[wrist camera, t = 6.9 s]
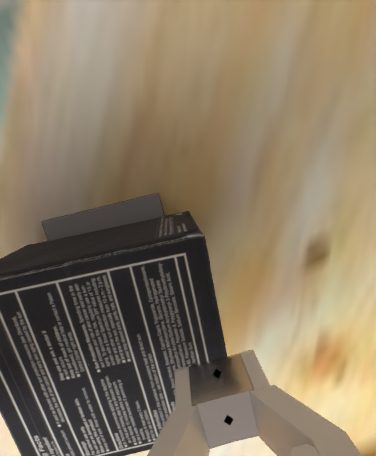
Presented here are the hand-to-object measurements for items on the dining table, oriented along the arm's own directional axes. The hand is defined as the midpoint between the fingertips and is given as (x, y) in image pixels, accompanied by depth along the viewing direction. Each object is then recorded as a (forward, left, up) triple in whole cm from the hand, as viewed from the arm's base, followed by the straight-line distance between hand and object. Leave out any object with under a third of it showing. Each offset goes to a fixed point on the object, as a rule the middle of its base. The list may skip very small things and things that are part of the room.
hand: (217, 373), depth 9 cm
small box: (-1, 0, -5) cm, 5 cm away
